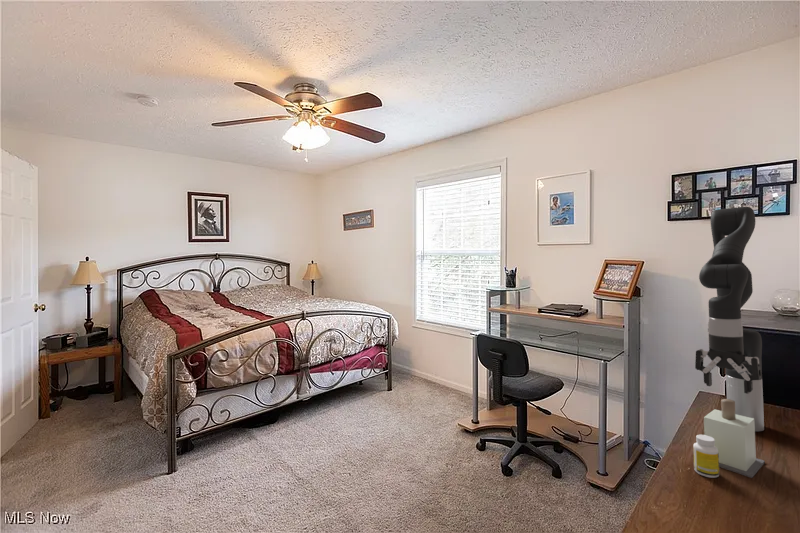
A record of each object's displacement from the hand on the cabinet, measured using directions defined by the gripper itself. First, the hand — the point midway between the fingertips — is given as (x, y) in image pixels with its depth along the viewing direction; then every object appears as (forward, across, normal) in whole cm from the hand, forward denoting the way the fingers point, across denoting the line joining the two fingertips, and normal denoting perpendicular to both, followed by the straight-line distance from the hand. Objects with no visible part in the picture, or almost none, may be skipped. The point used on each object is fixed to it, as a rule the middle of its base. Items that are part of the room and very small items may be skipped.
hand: (727, 389), depth 108 cm
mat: (+21, 0, 0) cm, 21 cm away
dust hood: (+20, 0, 0) cm, 20 cm away
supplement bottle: (+21, +2, +12) cm, 24 cm away
